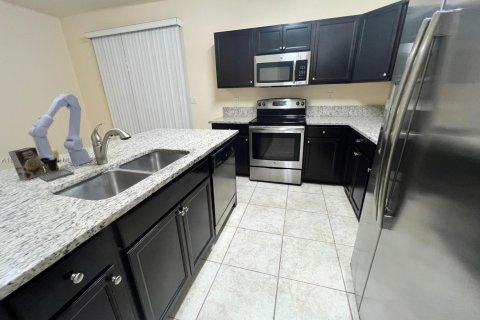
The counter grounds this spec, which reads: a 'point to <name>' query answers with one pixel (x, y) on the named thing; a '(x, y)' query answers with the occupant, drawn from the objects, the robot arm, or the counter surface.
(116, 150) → the counter surface
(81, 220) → the counter surface
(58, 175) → the slate gray tray
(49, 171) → the letter cube
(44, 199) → the counter surface
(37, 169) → the coffee box
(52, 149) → the tan lumpy round piece
